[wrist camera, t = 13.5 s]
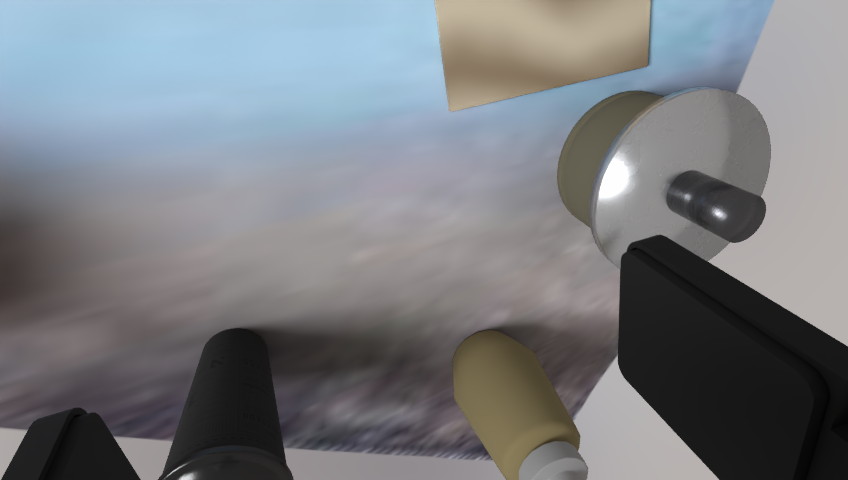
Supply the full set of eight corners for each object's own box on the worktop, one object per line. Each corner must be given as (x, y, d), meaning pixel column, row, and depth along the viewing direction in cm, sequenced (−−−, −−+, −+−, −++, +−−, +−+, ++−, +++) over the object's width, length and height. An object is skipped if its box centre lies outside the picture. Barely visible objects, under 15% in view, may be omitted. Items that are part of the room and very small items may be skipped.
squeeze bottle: (434, 393, 48) (517, 586, 32) (446, 320, 45) (544, 495, 29) (512, 385, 50) (624, 561, 35) (529, 316, 47) (660, 475, 32)
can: (706, 131, 44) (776, 152, 38) (623, 246, 47) (676, 283, 41) (614, 58, 39) (677, 70, 33) (527, 193, 42) (571, 227, 36)
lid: (589, 111, 32) (651, 133, 27) (773, 68, 35) (863, 81, 30) (588, 294, 39) (638, 340, 34) (744, 246, 41) (813, 283, 36)
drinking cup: (298, 322, 41) (323, 567, 23) (270, 397, 43) (274, 670, 26) (196, 303, 38) (139, 567, 20) (172, 385, 40) (102, 684, 23)
